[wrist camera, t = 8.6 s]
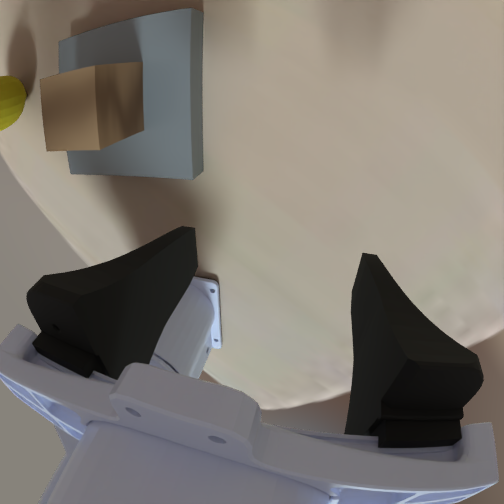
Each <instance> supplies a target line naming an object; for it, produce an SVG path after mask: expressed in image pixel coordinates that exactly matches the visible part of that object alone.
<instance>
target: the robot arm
mask: <svg viewBox="0 0 504 504" xmlns="http://www.w3.org/2000/svg"><path fill="white" fill-rule="evenodd" d="M197 267H198V261H197V249H196V237H195V228H192V227H185V226H182V227H179V228H177V229H175V230H173V231H171V232H169V233H167V234H165V235H163V236H161V237H159V238H157V239H155V240H153V241H152V242H150V243H148V244H146V245H144V246H142V247H140V248H138V249H136V250H134V251H132V252H129V253H127V254H125V255H123V256H120V257H118V258H115V259H113V260H110V261H107V262H104V263H101V264H98V265H94V266H91V267H88V268H84V269H80V270H75V271H70V272H65V273H58V274H50V275H44V276H43V277H42V278H41V279H40V280H39V281H38V282H37V283H36V284H35V285H34V286H33V287H32V288H31V289H30V290H29V291H28V292H27V303H28V306H29V308H30V310H31V313H32V314H33V316H34V318H35V320H36V322H37V324H38V325H39V327H40V329H41V333H40V334H39V335H38V336H37V335H36V334H35V333H34V332H33V331H32V330H30V329H28V328H26V327H24V326H22V325H20V324H17V325H16V326H15V328H14V329H13V330H12V331H11V332H10V333H9V334H8V336H7V337H6V338H5V339H4V340H3V342H2V343H1V344H0V379H1V380H2V381H3V382H4V383H5V385H6V386H7V387H8V388H9V389H10V390H11V392H12V393H13V394H14V395H15V396H16V397H18V398H19V399H20V400H22V401H23V402H24V403H26V404H27V405H28V406H30V407H31V408H32V409H34V410H35V411H37V412H38V413H39V414H41V415H42V416H43V417H45V418H46V419H48V420H49V421H51V422H52V423H53V424H54V426H55V429H56V431H57V433H58V436H59V438H60V440H61V442H62V444H63V446H64V449H65V451H66V453H65V455H64V457H63V459H62V460H61V462H60V464H59V466H58V467H57V469H56V471H55V473H54V474H53V476H52V478H51V480H50V482H49V484H48V485H47V487H46V489H45V491H44V493H43V495H42V496H41V498H40V500H39V502H38V504H451V503H456V502H460V501H462V500H464V499H466V498H468V497H470V496H473V495H475V494H477V493H479V492H481V491H483V490H485V489H486V488H488V487H490V486H492V485H494V484H496V483H497V482H498V481H499V476H498V465H497V456H496V449H495V441H494V434H493V428H492V423H491V422H486V423H476V424H468V425H465V426H463V427H461V426H460V420H461V419H462V418H463V415H464V414H463V407H464V406H465V405H466V404H467V403H468V402H469V401H470V399H471V398H472V397H473V396H474V395H475V394H476V393H477V391H478V390H479V389H480V387H481V386H482V383H483V381H484V380H483V373H482V369H481V365H480V362H479V358H478V356H477V355H476V354H475V353H473V352H471V351H470V350H468V349H467V348H465V347H464V346H462V345H460V344H459V343H457V342H456V341H455V340H453V339H452V338H451V337H449V336H448V335H446V334H445V333H444V332H443V331H441V330H440V329H439V328H438V327H437V326H436V325H434V324H433V323H432V322H431V321H430V320H429V319H428V318H427V317H426V316H425V315H424V314H423V313H422V312H421V311H420V310H419V309H418V308H417V307H416V306H415V305H414V304H413V303H412V302H411V300H410V299H409V298H408V297H407V296H406V294H405V293H404V292H403V291H402V289H401V288H400V287H399V286H398V284H397V283H396V282H395V280H394V279H393V277H392V276H391V275H390V273H389V272H388V270H387V269H386V268H385V266H384V265H383V263H382V262H381V260H380V259H379V258H378V256H377V255H374V254H367V253H362V257H361V261H360V264H359V268H358V272H357V275H356V279H355V282H354V286H353V289H352V300H351V319H352V335H353V353H354V364H353V376H352V386H351V395H350V403H349V410H348V416H347V422H346V428H345V433H344V434H335V433H325V432H317V431H309V430H302V429H295V428H288V427H282V426H277V425H271V424H266V423H263V422H261V414H262V412H261V410H260V407H259V405H258V403H257V402H256V401H255V400H254V399H252V398H251V397H249V396H248V395H247V394H245V393H244V392H242V391H239V390H236V389H233V388H230V387H228V386H224V385H220V384H216V383H212V382H208V381H204V380H200V379H199V377H200V374H201V372H202V370H203V367H204V365H205V363H206V360H207V358H208V355H209V353H210V351H211V348H216V349H220V348H221V347H222V336H221V320H220V302H219V285H218V283H217V282H216V281H214V280H210V279H205V278H199V277H194V274H195V272H196V269H197ZM212 289H214V290H212Z"/></svg>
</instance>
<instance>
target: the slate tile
mask: <svg viewBox="0 0 504 504" xmlns="http://www.w3.org/2000/svg"><path fill="white" fill-rule="evenodd" d="M202 45H203V12H201V11H198V10H196V9H193V8H186V9H179V10H173V11H167V12H161V13H156V14H151V15H146V16H141V17H137V18H133V19H128V20H125V21H121V22H117V23H113V24H110V25H106V26H103V27H99V28H96V29H93V30H90V31H87V32H84V33H81V34H78V35H75V36H73V37H70V38H67V39H64V40H62V41H59V74H61V73H65V72H69V71H73V70H77V69H81V68H85V67H90V66H95V65H104V64H115V63H129V62H143V111H144V131H142V132H139V133H137V134H134V135H132V136H130V137H128V138H125V139H123V140H121V141H118V142H116V143H114V144H112V145H110V146H108V147H105V148H103V149H101V150H72V151H67V156H68V162H69V168H70V173H71V174H85V175H119V176H141V177H159V178H174V179H188V180H193V179H195V178H196V177H197V176H198V175H199V174H200V173H202V172H203V134H202Z"/></svg>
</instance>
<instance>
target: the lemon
mask: <svg viewBox="0 0 504 504" xmlns="http://www.w3.org/2000/svg"><path fill="white" fill-rule="evenodd" d="M26 97H27V93H26V92H25V88H24V86H23V84H22V83H21V81H20V80H19V79H17V78H15V77H12V76H0V131H2V130H4V129H6V128H7V127H9V126H10V125H12V124H13V123H14V122H15V121H16V120H17V119H18V118H19V116H20V115H21V113H22V111H23V108H24V105H25V99H26Z"/></svg>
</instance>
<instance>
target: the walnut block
mask: <svg viewBox="0 0 504 504" xmlns="http://www.w3.org/2000/svg"><path fill="white" fill-rule="evenodd" d="M40 89H41V104H42V116H43V126H44V134H45V142H46V149H47V151H72V150H101V149H103V148H105V147H108V146H110V145H112V144H114V143H116V142H118V141H121V140H123V139H125V138H128V137H130V136H132V135H134V134H137V133H139V132H142V131H144V111H143V62H129V63H115V64H104V65H95V66H90V67H85V68H81V69H77V70H73V71H69V72H65V73H61V74H57V75H54V76H50V77H47V78H43V79H40Z"/></svg>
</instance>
